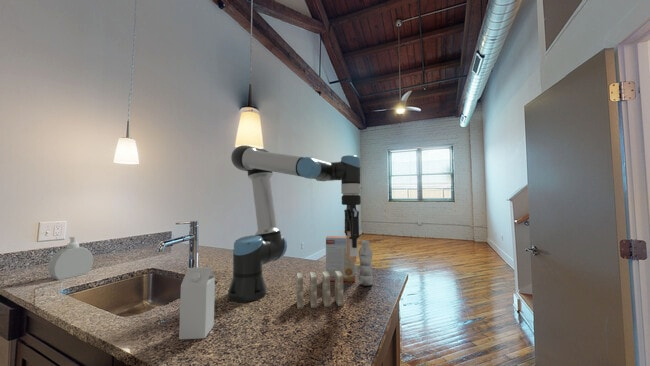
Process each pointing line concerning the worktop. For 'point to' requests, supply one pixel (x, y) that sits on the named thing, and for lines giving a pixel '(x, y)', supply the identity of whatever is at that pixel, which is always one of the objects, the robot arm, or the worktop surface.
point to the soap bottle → (70, 261)
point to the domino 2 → (313, 289)
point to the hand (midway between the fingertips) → (351, 254)
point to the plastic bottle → (365, 264)
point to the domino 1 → (299, 290)
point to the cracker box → (338, 259)
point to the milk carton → (197, 303)
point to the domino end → (353, 258)
